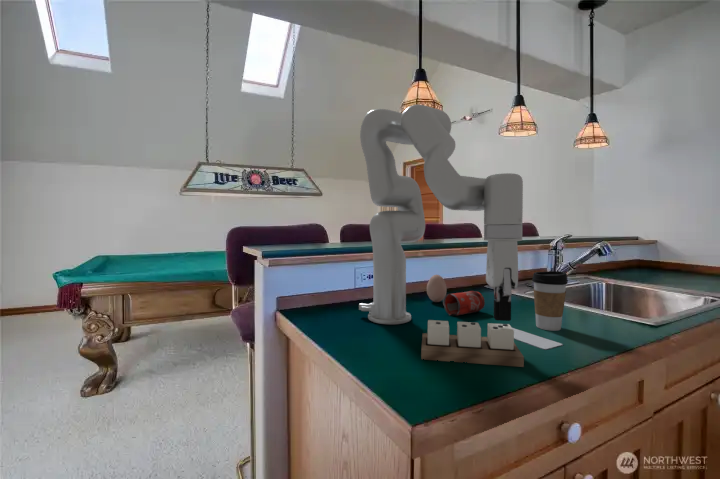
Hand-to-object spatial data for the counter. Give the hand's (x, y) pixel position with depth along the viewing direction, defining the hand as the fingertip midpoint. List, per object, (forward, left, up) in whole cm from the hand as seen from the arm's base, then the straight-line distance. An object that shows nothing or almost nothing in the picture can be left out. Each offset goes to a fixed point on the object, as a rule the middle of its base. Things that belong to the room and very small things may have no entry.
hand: (502, 319), depth 75 cm
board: (-7, 0, -8) cm, 10 cm away
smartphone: (+8, +13, -9) cm, 18 cm away
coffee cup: (+16, +23, -8) cm, 29 cm away
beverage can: (-5, +34, -8) cm, 35 cm away
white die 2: (-7, 0, -6) cm, 9 cm away
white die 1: (-13, 0, -6) cm, 15 cm away
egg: (-13, +47, -8) cm, 49 cm away
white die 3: (0, 0, -6) cm, 6 cm away
